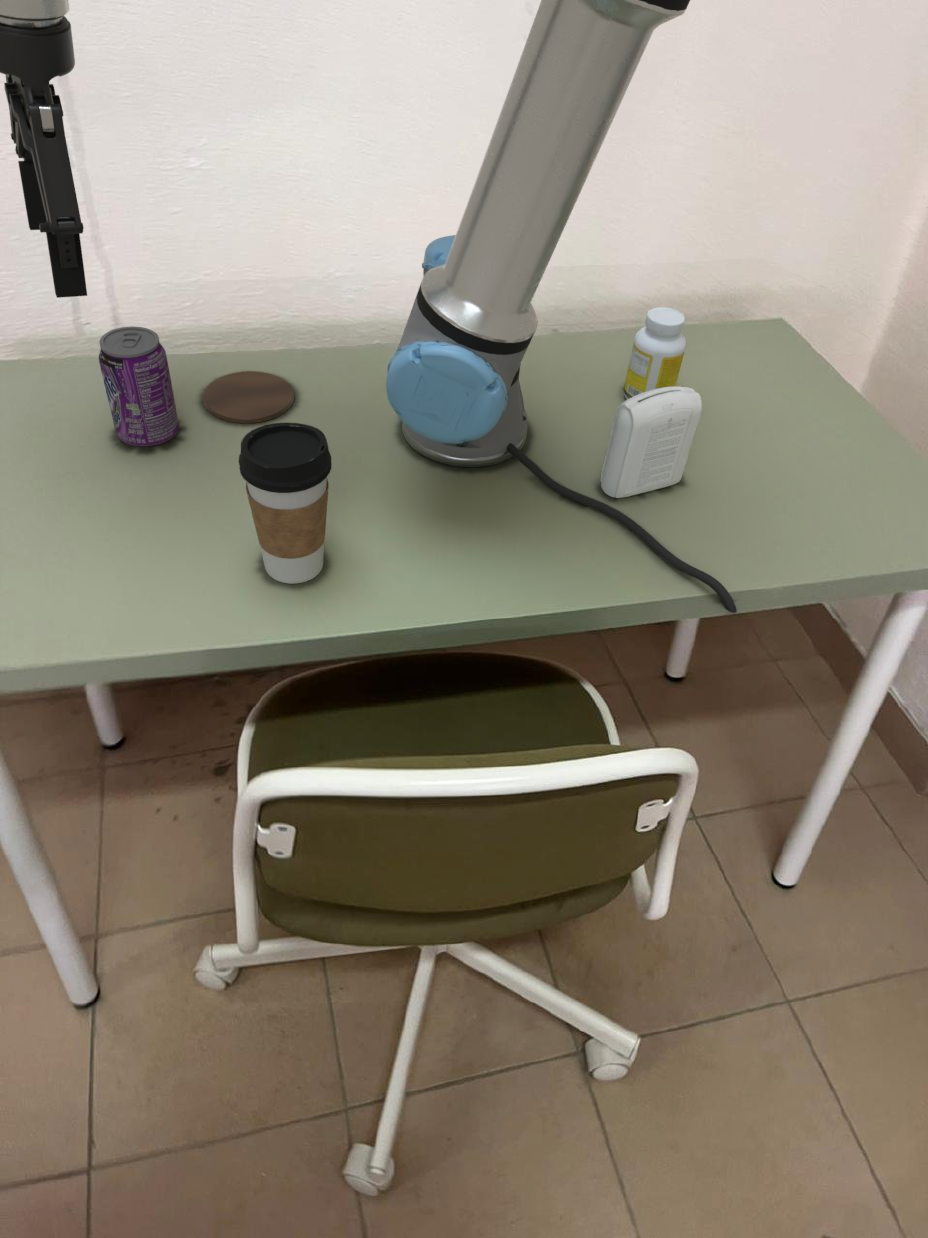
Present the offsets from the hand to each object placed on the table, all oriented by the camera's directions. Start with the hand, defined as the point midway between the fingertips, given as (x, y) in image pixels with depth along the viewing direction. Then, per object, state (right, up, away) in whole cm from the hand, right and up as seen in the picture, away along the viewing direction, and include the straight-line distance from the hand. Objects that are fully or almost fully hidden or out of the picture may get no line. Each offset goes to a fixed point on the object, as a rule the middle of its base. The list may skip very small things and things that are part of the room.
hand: (57, 260), depth 90 cm
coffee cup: (+23, -30, +3) cm, 38 cm away
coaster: (+13, -8, +24) cm, 28 cm away
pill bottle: (+64, -6, +31) cm, 71 cm away
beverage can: (+3, -14, +17) cm, 22 cm away
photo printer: (+61, -20, +17) cm, 66 cm away
